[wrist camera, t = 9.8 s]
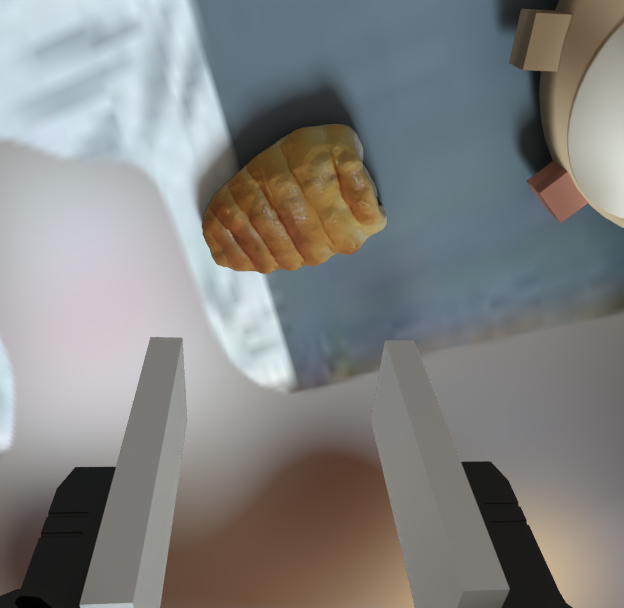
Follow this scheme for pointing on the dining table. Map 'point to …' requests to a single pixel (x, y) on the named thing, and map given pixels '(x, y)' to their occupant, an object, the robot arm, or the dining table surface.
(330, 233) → the pastry
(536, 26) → the turntable
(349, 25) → the dining table surface
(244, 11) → the dining table surface
